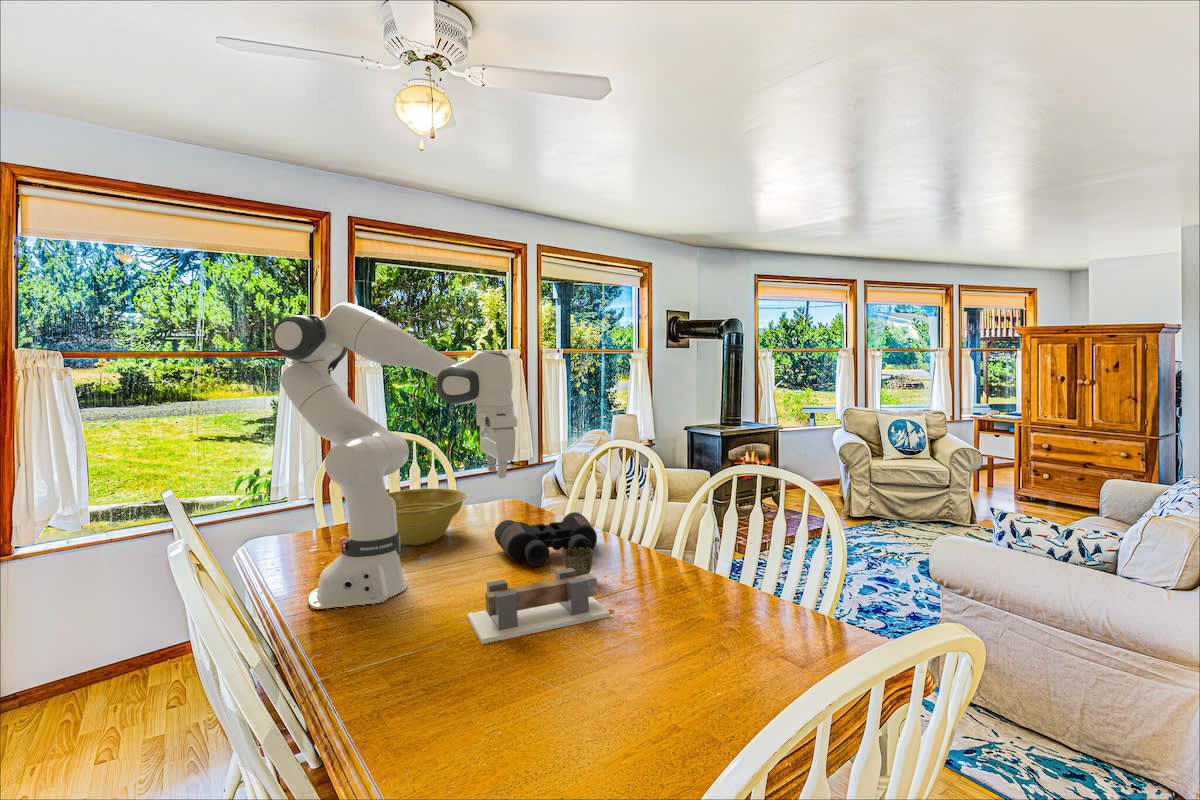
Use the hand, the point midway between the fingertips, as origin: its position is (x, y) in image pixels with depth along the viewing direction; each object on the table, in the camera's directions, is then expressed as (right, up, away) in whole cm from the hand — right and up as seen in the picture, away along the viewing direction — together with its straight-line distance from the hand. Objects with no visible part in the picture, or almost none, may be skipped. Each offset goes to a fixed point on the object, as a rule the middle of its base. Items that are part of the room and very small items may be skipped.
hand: (496, 474), depth 148 cm
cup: (+20, -28, +6) cm, 35 cm away
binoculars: (+11, -27, +28) cm, 41 cm away
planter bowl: (-34, -27, +48) cm, 65 cm away
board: (+12, -29, -15) cm, 35 cm away
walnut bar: (+13, -26, -15) cm, 33 cm away
